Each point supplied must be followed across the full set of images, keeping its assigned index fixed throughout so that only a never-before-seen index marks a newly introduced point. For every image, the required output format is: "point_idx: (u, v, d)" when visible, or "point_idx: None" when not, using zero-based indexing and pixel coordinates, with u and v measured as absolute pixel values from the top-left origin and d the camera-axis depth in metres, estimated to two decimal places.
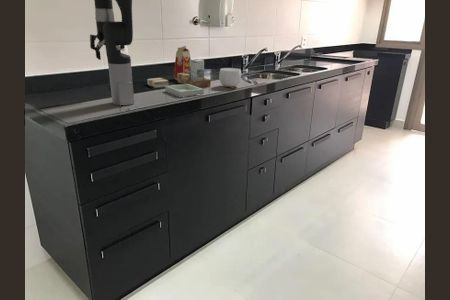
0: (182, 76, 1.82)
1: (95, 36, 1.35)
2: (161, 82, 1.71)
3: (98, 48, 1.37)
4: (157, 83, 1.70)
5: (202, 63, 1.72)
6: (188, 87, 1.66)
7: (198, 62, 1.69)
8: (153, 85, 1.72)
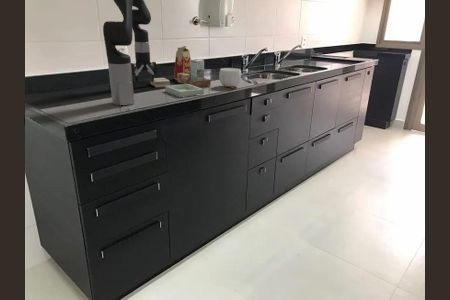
0: (182, 76, 1.82)
1: (134, 64, 1.64)
2: (162, 82, 1.72)
3: (136, 74, 1.66)
4: (158, 83, 1.71)
5: (202, 63, 1.72)
6: (188, 87, 1.66)
7: (198, 62, 1.69)
8: (154, 85, 1.73)
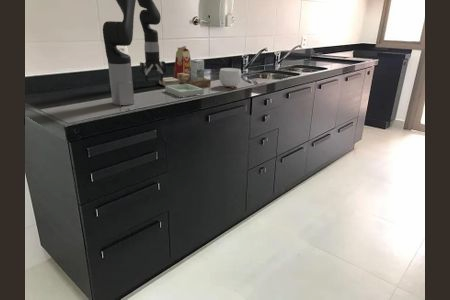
0: (182, 76, 1.82)
1: (144, 63, 1.67)
2: (172, 81, 1.75)
3: (146, 73, 1.69)
4: (168, 82, 1.74)
5: (202, 63, 1.72)
6: (188, 87, 1.66)
7: (198, 62, 1.69)
8: (164, 84, 1.75)
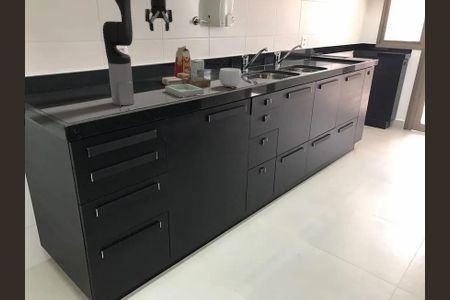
0: (182, 76, 1.82)
1: (150, 10, 1.57)
2: (175, 81, 1.76)
3: (152, 21, 1.59)
4: (171, 82, 1.75)
5: (202, 63, 1.72)
6: (188, 87, 1.66)
7: (198, 62, 1.69)
8: (168, 84, 1.76)
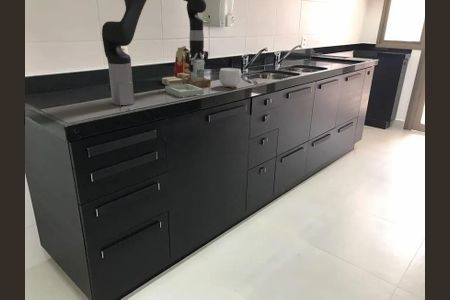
0: (182, 76, 1.82)
1: (189, 53, 1.67)
2: (176, 81, 1.76)
3: (192, 62, 1.69)
4: (172, 82, 1.75)
5: (202, 63, 1.72)
6: (188, 87, 1.66)
7: (198, 62, 1.69)
8: (168, 84, 1.76)
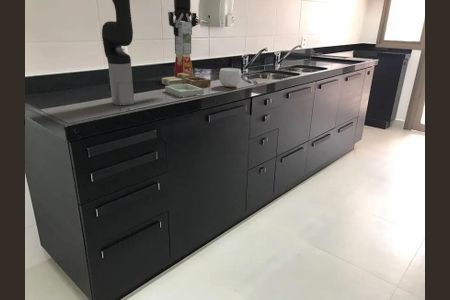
0: (182, 76, 1.82)
1: (173, 13, 1.43)
2: (176, 81, 1.76)
3: (176, 25, 1.45)
4: (172, 82, 1.75)
5: (189, 26, 1.47)
6: (188, 87, 1.66)
7: (184, 24, 1.45)
8: (168, 84, 1.76)
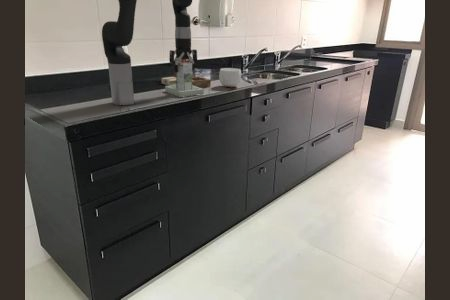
0: None
1: (174, 51, 1.49)
2: None
3: (176, 62, 1.51)
4: (173, 82, 1.75)
5: (190, 66, 1.54)
6: None
7: (185, 65, 1.52)
8: (169, 84, 1.76)
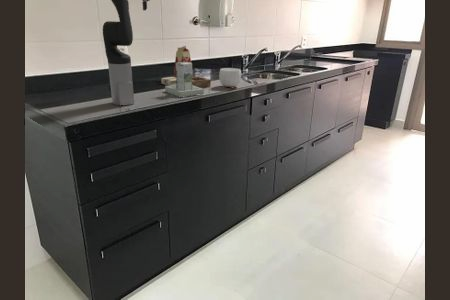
0: None
1: None
2: None
3: None
4: (173, 82, 1.75)
5: (190, 66, 1.54)
6: None
7: (185, 65, 1.52)
8: (169, 84, 1.76)
